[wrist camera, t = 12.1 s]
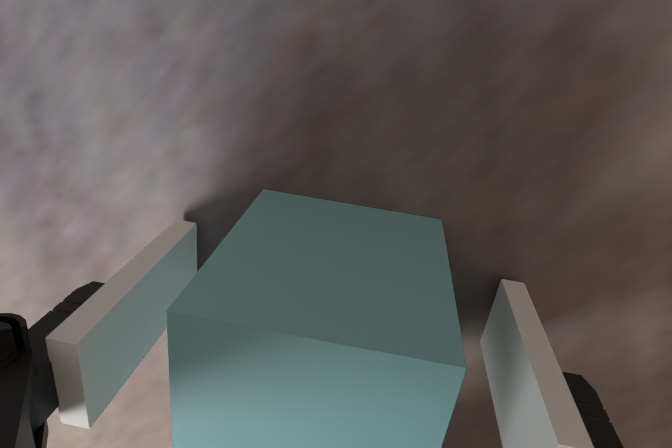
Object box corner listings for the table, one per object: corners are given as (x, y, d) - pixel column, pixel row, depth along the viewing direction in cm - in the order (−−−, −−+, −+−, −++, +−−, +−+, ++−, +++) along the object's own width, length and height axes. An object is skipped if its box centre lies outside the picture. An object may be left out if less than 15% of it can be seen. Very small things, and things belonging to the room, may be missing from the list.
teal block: (255, 329, 18) (174, 500, 12) (263, 188, 16) (166, 310, 9) (406, 358, 18) (407, 551, 11) (441, 218, 15) (466, 368, 9)
